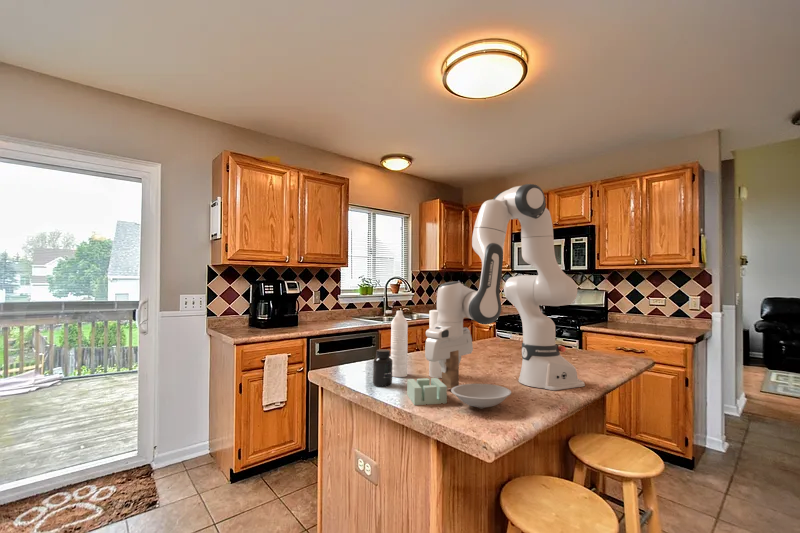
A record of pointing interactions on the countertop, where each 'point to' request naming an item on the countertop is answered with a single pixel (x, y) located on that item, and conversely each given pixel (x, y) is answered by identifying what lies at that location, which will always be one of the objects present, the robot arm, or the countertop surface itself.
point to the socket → (426, 391)
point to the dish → (481, 394)
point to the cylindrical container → (435, 366)
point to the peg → (452, 370)
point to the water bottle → (399, 344)
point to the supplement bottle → (382, 368)
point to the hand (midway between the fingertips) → (450, 370)
